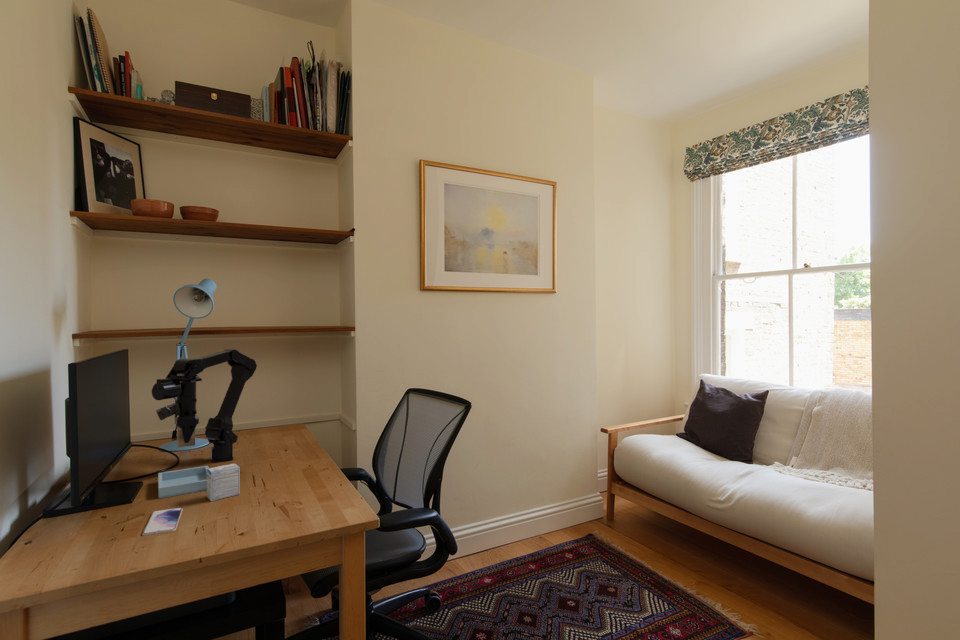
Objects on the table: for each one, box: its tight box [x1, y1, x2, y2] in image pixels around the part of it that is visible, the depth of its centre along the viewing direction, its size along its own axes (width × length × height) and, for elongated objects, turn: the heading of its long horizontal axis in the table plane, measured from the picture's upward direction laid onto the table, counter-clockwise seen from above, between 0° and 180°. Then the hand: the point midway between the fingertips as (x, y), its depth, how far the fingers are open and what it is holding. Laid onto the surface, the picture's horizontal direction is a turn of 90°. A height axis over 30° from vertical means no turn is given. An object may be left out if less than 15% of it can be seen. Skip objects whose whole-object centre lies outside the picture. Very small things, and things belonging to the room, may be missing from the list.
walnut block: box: [176, 426, 196, 448], centre depth 163 cm, size 5×5×6 cm
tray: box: [157, 465, 210, 499], centre depth 150 cm, size 14×16×3 cm
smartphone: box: [141, 507, 184, 537], centre depth 125 cm, size 7×1×15 cm
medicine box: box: [206, 463, 241, 502], centre depth 142 cm, size 8×4×9 cm, turn 134°
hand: (186, 441), depth 163 cm, fingers closed on walnut block, 5 cm apart
